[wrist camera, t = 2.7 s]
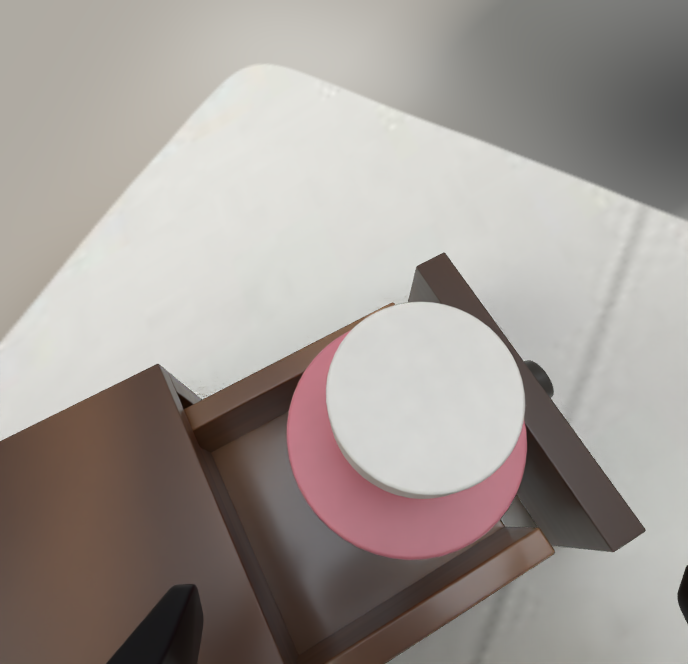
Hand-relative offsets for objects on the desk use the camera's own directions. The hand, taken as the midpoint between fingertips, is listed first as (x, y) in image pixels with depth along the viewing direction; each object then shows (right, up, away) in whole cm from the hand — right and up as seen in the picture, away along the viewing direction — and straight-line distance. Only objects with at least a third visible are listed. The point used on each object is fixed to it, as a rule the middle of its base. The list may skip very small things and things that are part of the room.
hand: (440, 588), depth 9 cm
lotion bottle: (0, 0, +9) cm, 9 cm away
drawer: (0, -1, +10) cm, 10 cm away
